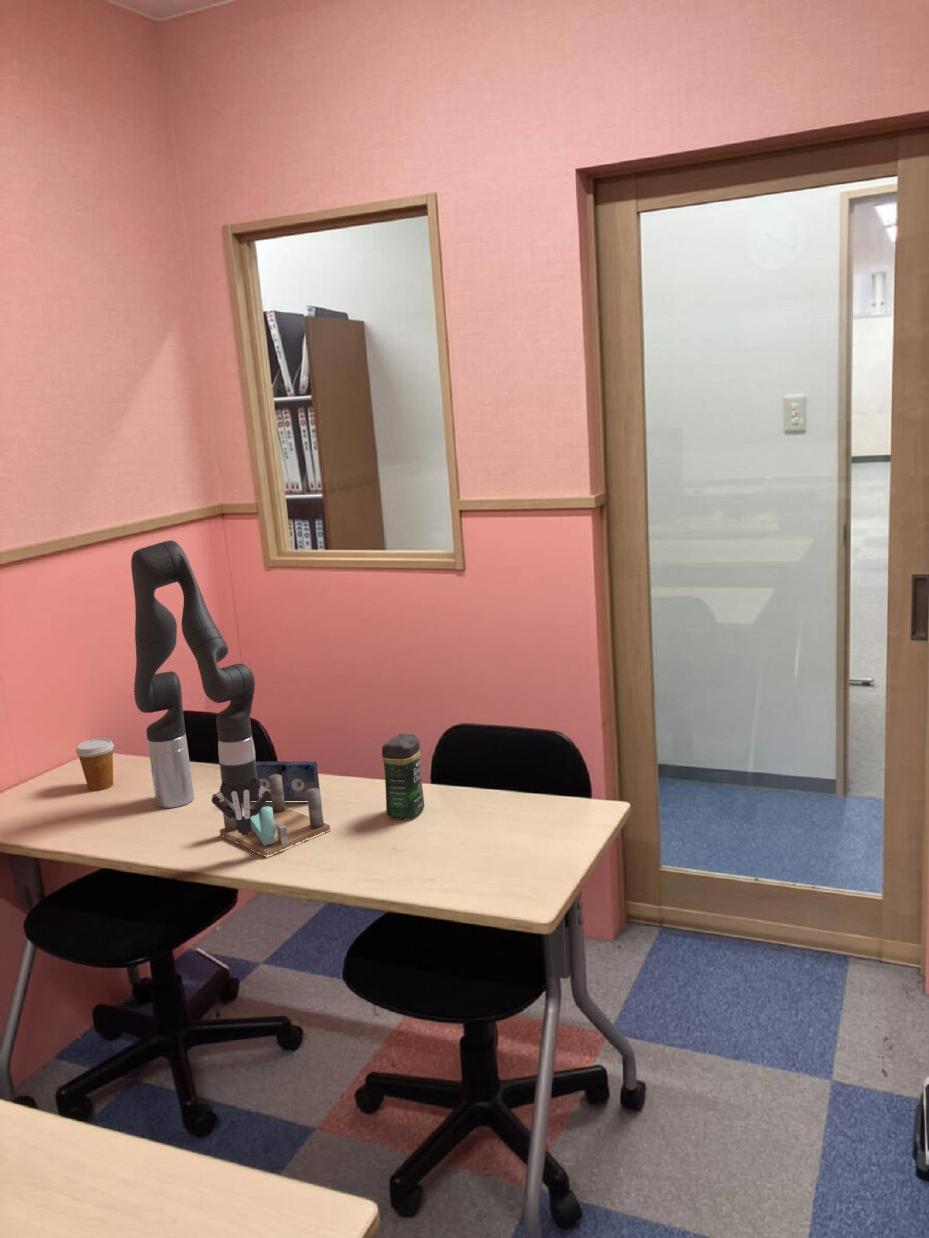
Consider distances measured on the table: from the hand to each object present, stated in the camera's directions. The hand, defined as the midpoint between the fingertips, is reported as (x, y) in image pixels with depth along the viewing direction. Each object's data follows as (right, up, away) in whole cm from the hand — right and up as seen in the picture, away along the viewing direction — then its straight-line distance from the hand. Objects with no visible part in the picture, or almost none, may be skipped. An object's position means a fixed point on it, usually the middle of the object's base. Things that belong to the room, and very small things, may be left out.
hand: (245, 833), depth 217 cm
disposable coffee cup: (-49, +2, +50) cm, 70 cm away
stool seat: (+4, -2, +12) cm, 13 cm away
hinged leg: (+2, -2, +8) cm, 8 cm away
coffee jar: (+34, +1, +18) cm, 39 cm away
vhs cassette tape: (+3, +1, +31) cm, 32 cm away
